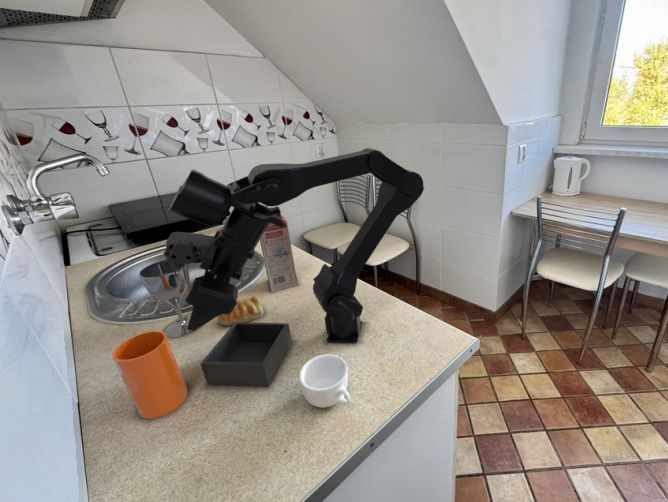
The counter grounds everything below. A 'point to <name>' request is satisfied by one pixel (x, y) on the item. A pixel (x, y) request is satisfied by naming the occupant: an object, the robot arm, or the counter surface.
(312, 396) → the teacup
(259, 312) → the pastry
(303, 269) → the counter surface
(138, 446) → the counter surface
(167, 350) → the orange cup
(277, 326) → the basket
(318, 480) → the counter surface
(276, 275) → the juice carton
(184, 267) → the wine glass
